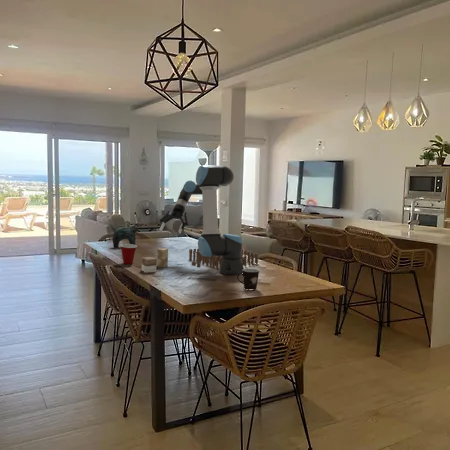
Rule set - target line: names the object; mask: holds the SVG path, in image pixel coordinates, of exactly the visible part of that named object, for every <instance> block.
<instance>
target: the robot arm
mask: <svg viewBox="0 0 450 450" xmlns="http://www.w3.org/2000/svg"><path fill="white" fill-rule="evenodd" d="M234 178H235V176H234V172H233V170H232V169H231V168H230V167H228V166H226V165H213V164H212V165H211V164H210V165H209V164H204V165H203V164H202V165H199V167H198V168H197V171H196V173H195V181H194V180H186V182H185V183H184V184H183V186H182V189H181V191H180V192H179V195H178V198H177V200H176V202H175V205H174V207H173V208H172V211H170V210H168V211H167V213H166V214H164V215H163V216H162V217H161V218H160V219H159V222H160V227H159V232H160V233H163V230H164V228H165V226H166V224H167V223H168V222H170V221H171V220H173V219H175V220H176V219H177V220H178V219H179V220H180V222H181V224H180V226H179V229H178V231H177V232H178V234H179V235H181V233H182V231H183V230H184V229H185V227H186V226H189V221H188V213H187V212H186V208H187V205H188V203H189V201H190V199H191V197H192V195H194V196H195V195H197V196H198V195H199V196H200V195H201V196H202V222H203V223H202V225H203V231H202V232H201V233H200V236H199V237H198V238H197V249H198V248H199V252H200V253H201V255H202V256H209V257H211V256H216V257H217V256H222V262H221V265H220V264H219V267H218V272H219V274H222V273H223V275H228V274H240V273H243V269H245V268H244V264H242V260H241V258H242V250H243V238H242V236H240V235H238V234H233V233H232V234H231V233H223V234H222V233H221V232H220V230H219V225H218V224H219V223H218V221H219V219H218V194H217V192H218V190H219V189H220V188H223V187H227V186H229V185H231V184H232V183H233V181H234ZM182 217H184V219H183V218H182ZM221 234H222V236H221ZM240 275H241V274H240Z"/></svg>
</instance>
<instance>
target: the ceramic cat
mask: <svg viewBox="0 0 450 450" xmlns="http://www.w3.org/2000/svg"><path fill="white" fill-rule="evenodd" d="M126 223H127V221H125V222H124V224H126ZM137 232H138V228H137V226H136V225H135V223H133V224H132V225H131V224H130V223H128V224H127V226H122V225H119V226H118V227H116V228H115V229H114V233H113V234H112V245H113V248H114V249H119V246H120V242H121V241H123V240H126V239H127V241H128V242H129V244H133V245H136V233H137Z"/></svg>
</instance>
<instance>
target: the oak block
mask: <svg viewBox="0 0 450 450" xmlns="http://www.w3.org/2000/svg"><path fill="white" fill-rule="evenodd" d="M156 250H157V251H156V252H157V253H156V259H157V265H156V267H157V266H158V267H159V268H166V267H168V265H169V263H168V262H169V248H164V247H163V248H162V247H160V248H157V249H156ZM158 267H157V268H158Z"/></svg>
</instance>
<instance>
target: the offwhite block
mask: <svg viewBox="0 0 450 450" xmlns="http://www.w3.org/2000/svg"><path fill="white" fill-rule="evenodd" d="M141 271H142V272H143V271H144V272H143V273H145V272H146V273H157V265H155V266H145V265H142V264H141Z"/></svg>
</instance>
